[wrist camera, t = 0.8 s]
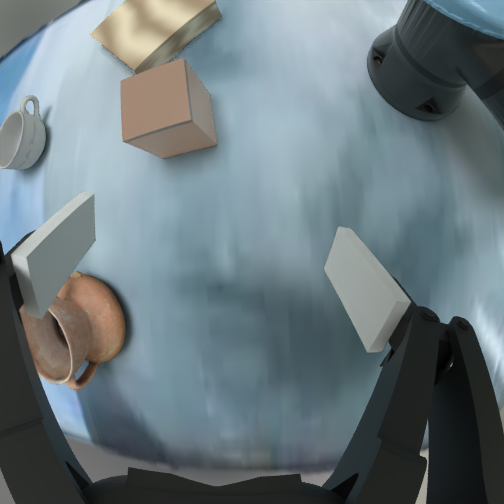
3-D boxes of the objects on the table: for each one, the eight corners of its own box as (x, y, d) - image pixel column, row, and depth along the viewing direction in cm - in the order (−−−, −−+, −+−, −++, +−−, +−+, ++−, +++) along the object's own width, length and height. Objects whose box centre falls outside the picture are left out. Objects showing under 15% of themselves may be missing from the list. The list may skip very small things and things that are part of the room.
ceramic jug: (62, 262, 43) (1, 276, 29) (128, 265, 41) (65, 284, 27) (77, 357, 45) (28, 390, 31) (141, 372, 43) (95, 418, 29)
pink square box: (210, 94, 37) (183, 57, 26) (217, 144, 37) (190, 119, 27) (158, 109, 38) (120, 81, 27) (163, 158, 39) (122, 141, 28)
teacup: (36, 181, 42) (5, 179, 35) (15, 158, 43) (-13, 154, 35) (69, 114, 40) (40, 103, 32) (44, 97, 41) (18, 87, 33)
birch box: (166, -10, 35) (157, -25, 31) (222, 18, 35) (215, 0, 30) (104, 46, 38) (89, 34, 33) (148, 83, 38) (134, 70, 33)
